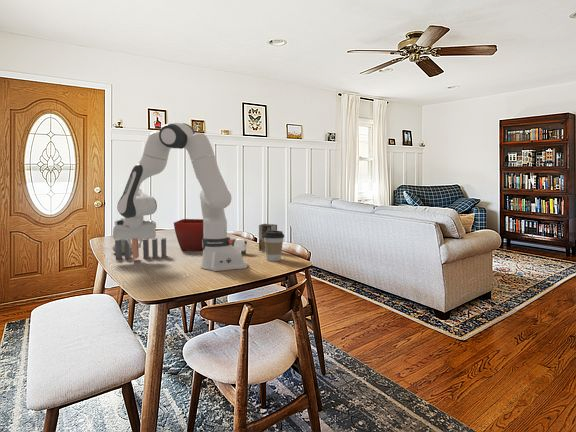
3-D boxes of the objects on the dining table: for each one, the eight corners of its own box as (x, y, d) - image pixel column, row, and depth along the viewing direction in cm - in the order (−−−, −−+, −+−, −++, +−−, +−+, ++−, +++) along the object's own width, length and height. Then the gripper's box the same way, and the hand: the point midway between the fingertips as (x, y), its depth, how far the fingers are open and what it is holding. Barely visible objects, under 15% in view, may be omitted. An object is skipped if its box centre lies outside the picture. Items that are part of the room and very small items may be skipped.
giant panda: (248, 253, 206) (248, 236, 205) (245, 255, 200) (245, 238, 199) (223, 252, 208) (223, 235, 207) (220, 254, 203) (220, 237, 202)
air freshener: (114, 255, 196) (114, 237, 195) (111, 252, 202) (110, 235, 201) (135, 252, 203) (135, 235, 202) (131, 250, 209) (131, 233, 208)
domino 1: (122, 257, 191) (121, 238, 190) (119, 259, 186) (119, 240, 185) (117, 257, 190) (117, 238, 189) (115, 259, 186) (114, 240, 185)
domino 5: (157, 256, 195) (157, 237, 194) (156, 258, 190) (156, 239, 189) (153, 256, 194) (153, 238, 193) (152, 258, 190) (152, 239, 189)
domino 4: (148, 256, 194) (148, 238, 193) (147, 258, 189) (147, 239, 188) (145, 256, 194) (144, 238, 192) (143, 258, 189) (142, 239, 188)
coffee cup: (288, 259, 190) (289, 231, 189) (273, 263, 182) (273, 234, 180) (273, 256, 198) (273, 229, 196) (258, 259, 190) (258, 231, 188)
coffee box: (277, 251, 211) (277, 224, 210) (271, 253, 206) (271, 225, 204) (264, 249, 216) (265, 223, 214) (258, 251, 211) (258, 224, 209)
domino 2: (131, 256, 192) (130, 238, 191) (129, 259, 187) (128, 240, 186) (127, 257, 192) (126, 238, 190) (125, 259, 187) (124, 240, 186)
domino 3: (138, 256, 186) (138, 237, 185) (136, 258, 182) (136, 239, 181) (134, 256, 186) (133, 237, 185) (132, 258, 181) (131, 239, 180)
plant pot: (206, 252, 208) (206, 223, 206) (173, 251, 208) (173, 222, 206) (213, 245, 227) (213, 219, 225) (183, 245, 227) (183, 218, 225)
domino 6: (166, 255, 196) (166, 237, 195) (165, 257, 191) (165, 239, 190) (162, 255, 196) (162, 237, 194) (161, 257, 191) (161, 239, 190)
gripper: (156, 219, 187) (157, 245, 189) (114, 220, 183) (115, 247, 184) (155, 221, 181) (155, 248, 182) (111, 222, 177) (112, 249, 178)
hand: (135, 247), depth 183 cm, fingers closed on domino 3, 2 cm apart
